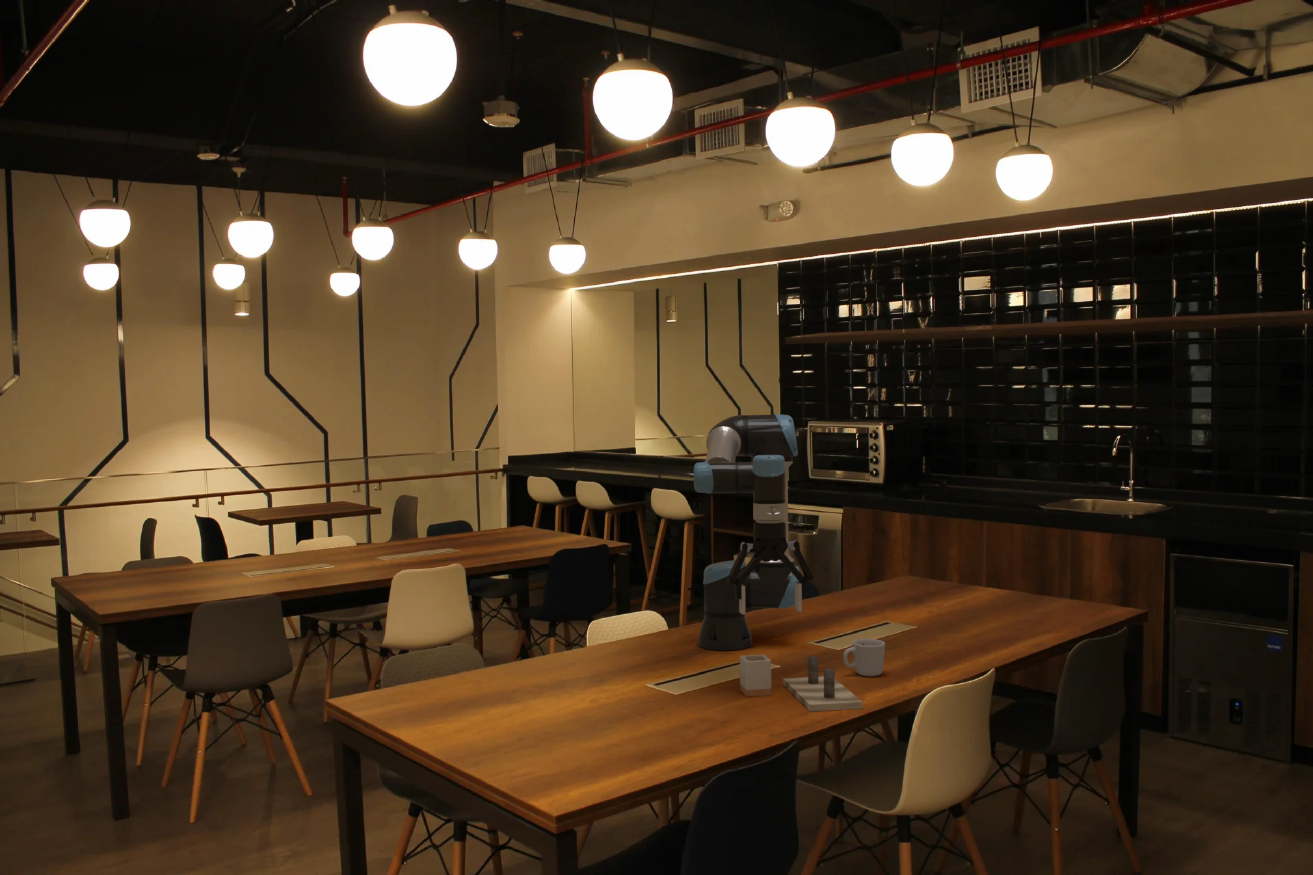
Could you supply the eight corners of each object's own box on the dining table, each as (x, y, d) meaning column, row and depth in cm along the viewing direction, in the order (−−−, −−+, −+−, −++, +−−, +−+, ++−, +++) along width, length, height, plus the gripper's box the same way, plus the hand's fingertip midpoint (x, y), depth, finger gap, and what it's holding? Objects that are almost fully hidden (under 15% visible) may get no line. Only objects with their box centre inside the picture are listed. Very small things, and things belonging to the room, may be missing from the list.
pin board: (783, 684, 240) (782, 653, 240) (831, 681, 242) (830, 651, 241) (810, 711, 218) (809, 677, 218) (862, 708, 220) (862, 674, 220)
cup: (851, 680, 243) (850, 647, 243) (836, 672, 250) (836, 640, 250) (891, 676, 246) (891, 644, 245) (875, 668, 253) (875, 637, 253)
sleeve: (740, 689, 236) (739, 655, 236) (764, 687, 237) (764, 654, 237) (746, 696, 231) (745, 661, 230) (771, 694, 231) (770, 660, 231)
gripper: (721, 524, 227) (722, 617, 228) (826, 521, 232) (827, 612, 232) (713, 521, 235) (714, 611, 235) (815, 518, 239) (816, 606, 239)
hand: (770, 612), depth 233 cm, fingers open, 13 cm apart
